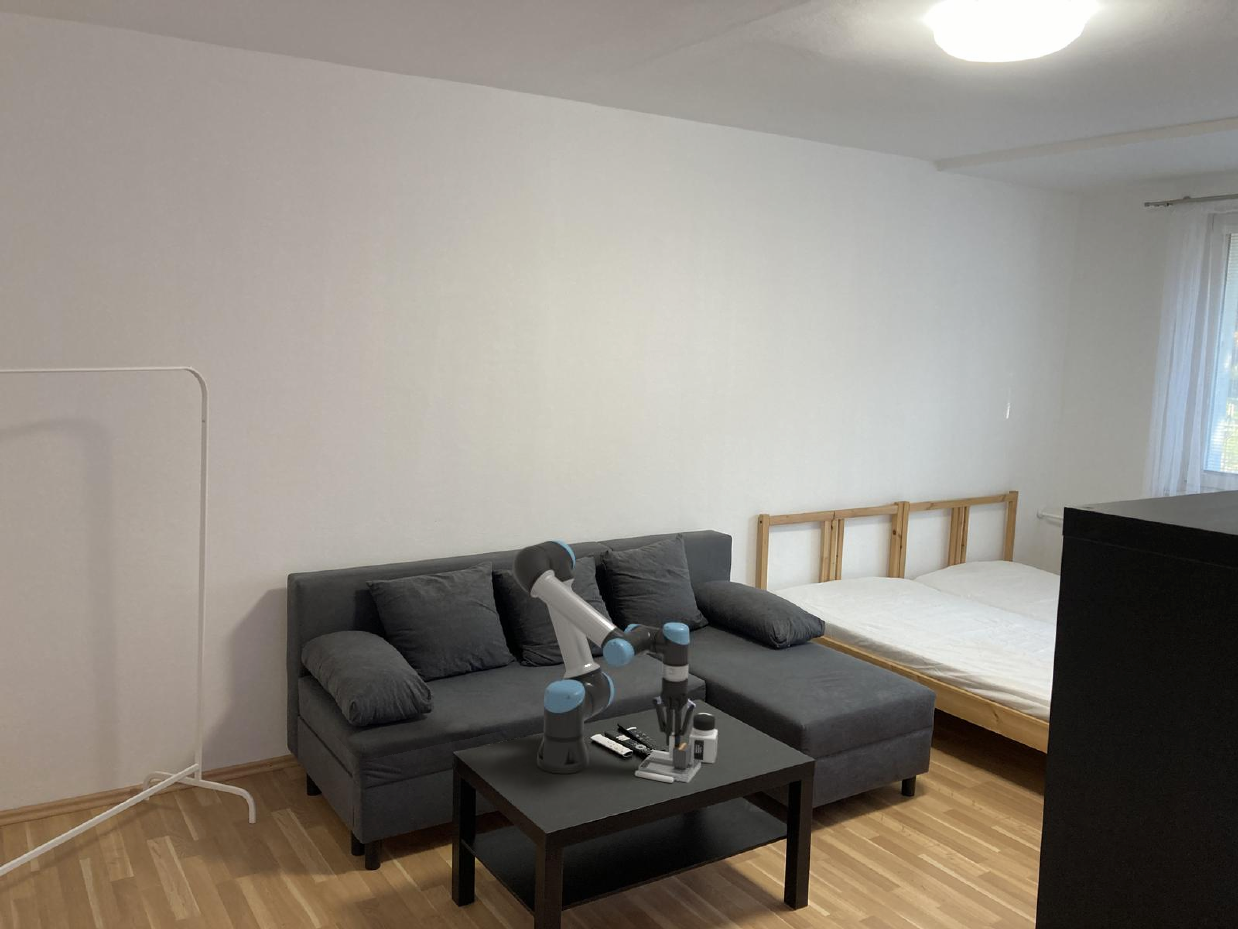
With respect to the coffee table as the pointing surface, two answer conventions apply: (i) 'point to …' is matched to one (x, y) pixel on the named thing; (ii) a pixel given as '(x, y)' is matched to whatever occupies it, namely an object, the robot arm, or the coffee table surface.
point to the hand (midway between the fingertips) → (672, 756)
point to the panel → (669, 767)
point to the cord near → (654, 776)
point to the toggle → (682, 755)
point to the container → (703, 738)
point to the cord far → (660, 751)
